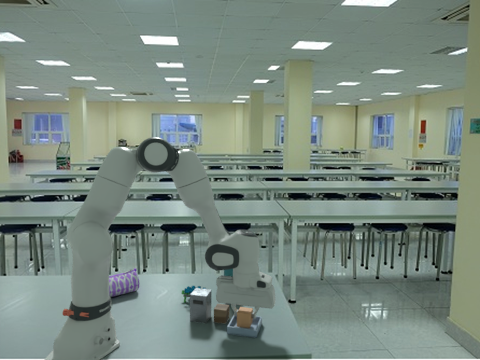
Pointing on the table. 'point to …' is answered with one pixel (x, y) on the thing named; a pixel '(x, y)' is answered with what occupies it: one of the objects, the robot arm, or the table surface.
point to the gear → (189, 291)
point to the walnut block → (221, 313)
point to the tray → (242, 331)
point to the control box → (200, 305)
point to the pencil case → (123, 283)
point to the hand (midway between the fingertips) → (245, 316)
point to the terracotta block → (244, 317)
